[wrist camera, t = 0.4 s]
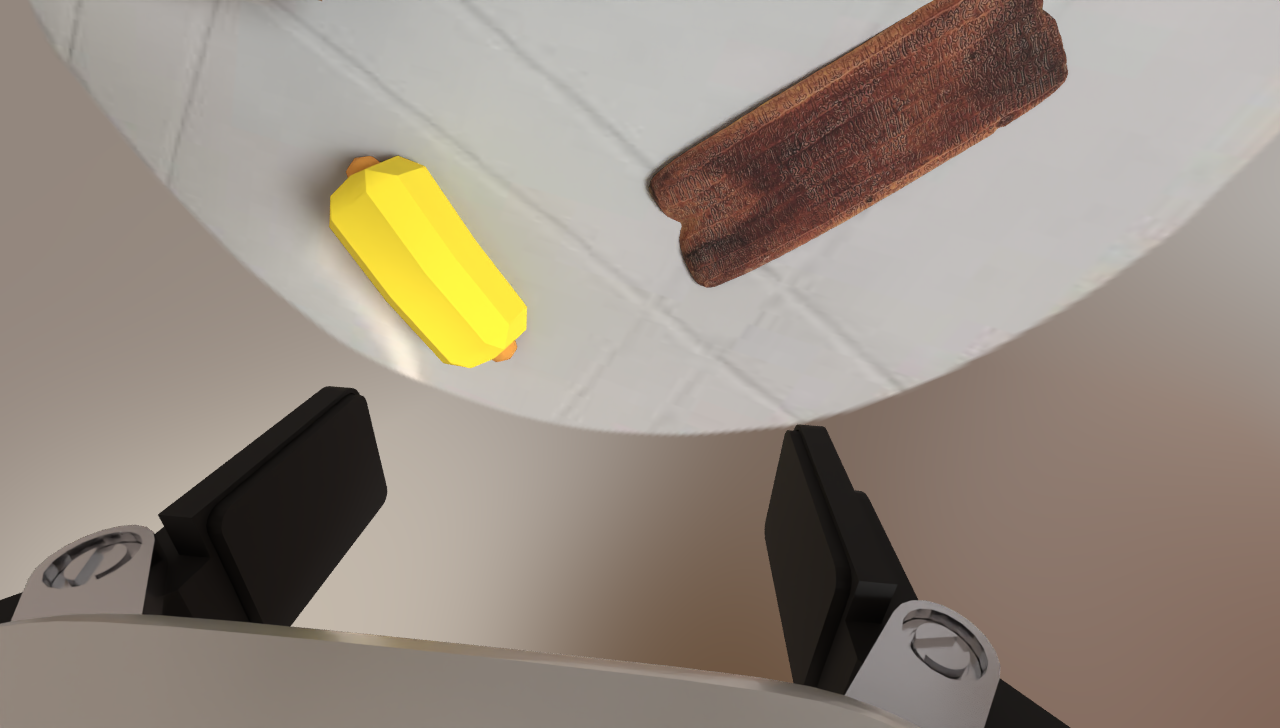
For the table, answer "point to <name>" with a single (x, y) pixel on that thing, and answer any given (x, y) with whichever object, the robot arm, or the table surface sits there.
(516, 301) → the yellow faceted part
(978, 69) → the wooden tablet
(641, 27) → the table surface
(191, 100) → the table surface
